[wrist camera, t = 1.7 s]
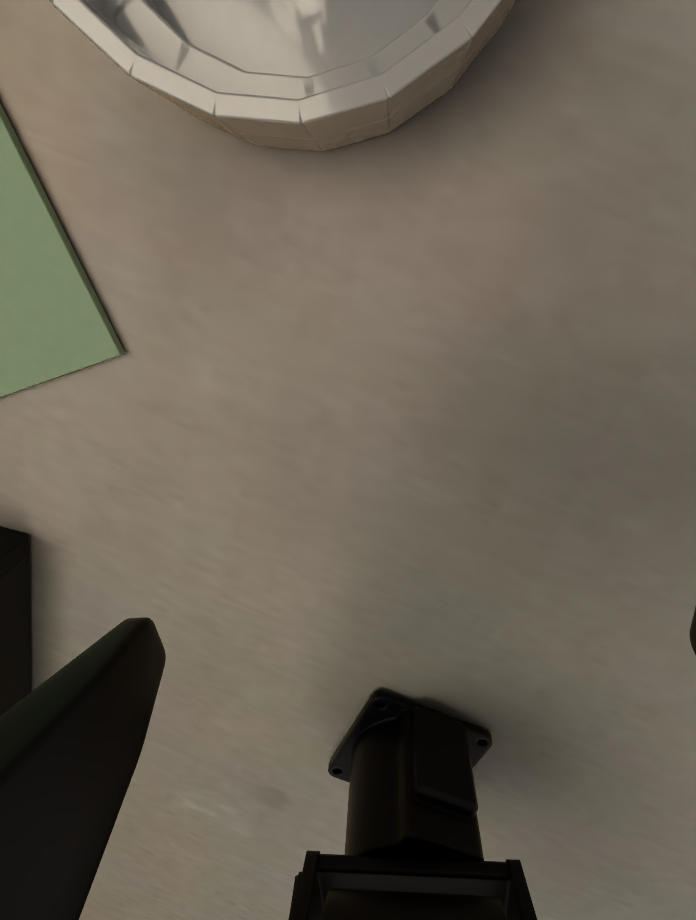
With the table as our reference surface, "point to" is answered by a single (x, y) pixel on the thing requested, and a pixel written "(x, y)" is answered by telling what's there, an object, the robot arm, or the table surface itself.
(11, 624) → the external hard drive
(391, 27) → the bowl
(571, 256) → the table surface
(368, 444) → the table surface
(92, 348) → the mat
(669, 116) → the table surface
